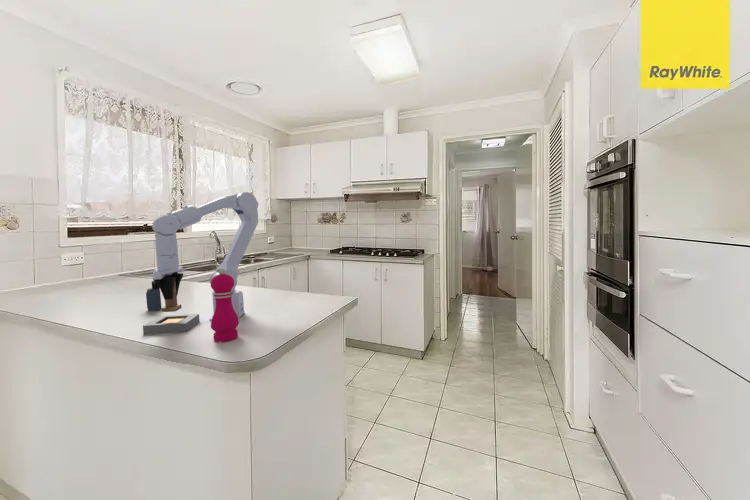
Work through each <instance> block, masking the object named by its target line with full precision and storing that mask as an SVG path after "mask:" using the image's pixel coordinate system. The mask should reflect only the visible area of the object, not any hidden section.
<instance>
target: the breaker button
mask: <svg viewBox="0 0 750 500" xmlns="http://www.w3.org/2000/svg"><path fill="white" fill-rule="evenodd" d="M183 319H185V318H178V319H167V320H166V321H164V322H162V323H177V322H180V321H182V320H183Z"/></svg>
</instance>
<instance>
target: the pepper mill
mask: <svg viewBox="0 0 750 500" xmlns="http://www.w3.org/2000/svg"><path fill="white" fill-rule="evenodd" d="M218 273H219V275H216V276H215V277H213V278H212V280H211V284H210V287H211V289H212V291H213V290H214V291H215V292H214V293H213V294H214V296H213V295H212V298H213V297H214V298H215V300H216V308H215V312H214V311H213V315H212V316H213V317H212V316H211V317H212V320H210V327H211V328H210V329H211V330H213V331H214V333H213V340H214V342H216V343H225V342H227V343H228V342H230V341H233V340H236V339H237V338H238V336H239V332H238V329H237V328H238V326H239V324H240V321H239V318H238V316H237V314H236V312H235V310H234V308H233V306H232V301H231V298H232V296H233V293H232V292H233V291H232V290H231V289H232V288H233V286H234V279H233V277H232V276H230V275H228V274H225V270H224V269H220V270H219V271H218Z"/></svg>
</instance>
